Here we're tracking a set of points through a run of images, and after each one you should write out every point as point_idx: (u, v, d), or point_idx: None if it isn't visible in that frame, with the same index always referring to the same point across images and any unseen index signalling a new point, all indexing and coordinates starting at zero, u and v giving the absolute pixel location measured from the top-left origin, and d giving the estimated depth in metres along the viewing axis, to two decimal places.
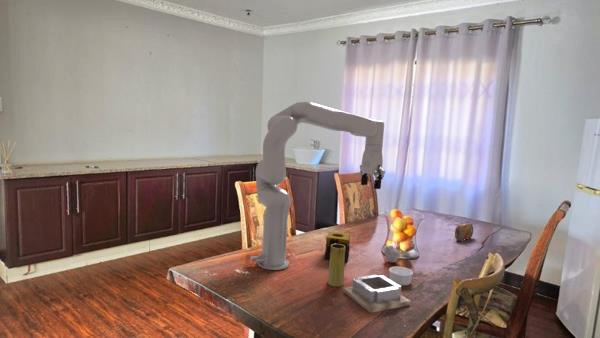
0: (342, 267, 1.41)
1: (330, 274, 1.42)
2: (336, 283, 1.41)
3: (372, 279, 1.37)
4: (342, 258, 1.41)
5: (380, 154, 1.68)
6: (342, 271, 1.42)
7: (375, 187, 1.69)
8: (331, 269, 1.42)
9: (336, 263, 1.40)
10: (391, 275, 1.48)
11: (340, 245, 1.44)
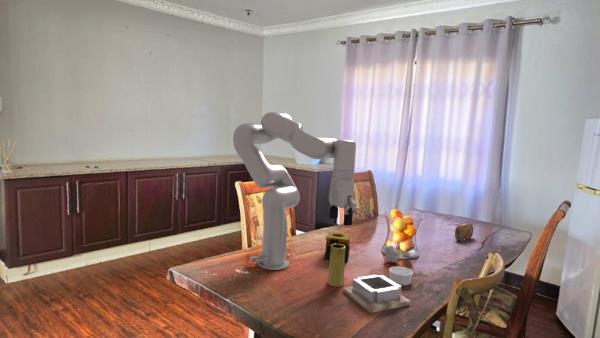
0: (342, 267, 1.41)
1: (330, 274, 1.42)
2: (336, 283, 1.41)
3: (372, 279, 1.37)
4: (342, 258, 1.41)
5: (351, 182, 1.35)
6: (342, 271, 1.42)
7: (345, 223, 1.36)
8: (331, 269, 1.42)
9: (336, 263, 1.40)
10: (391, 275, 1.48)
11: (340, 245, 1.44)
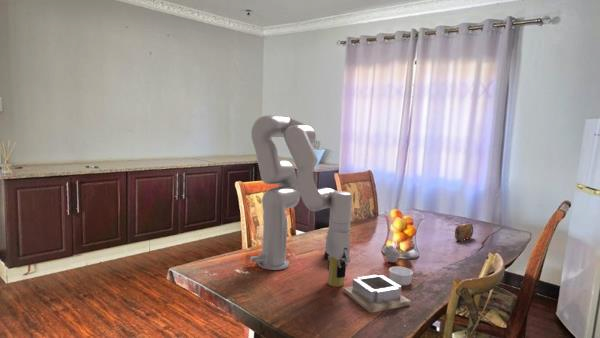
0: None
1: (330, 274, 1.42)
2: (336, 283, 1.41)
3: (372, 279, 1.37)
4: None
5: (347, 235, 1.38)
6: None
7: (338, 276, 1.40)
8: (331, 269, 1.42)
9: (336, 263, 1.40)
10: (391, 275, 1.48)
11: None
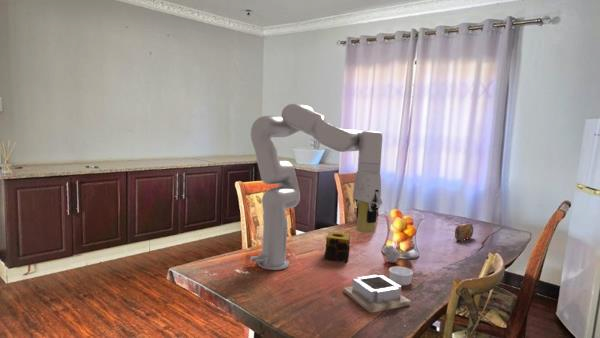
0: None
1: (359, 220, 1.33)
2: (366, 229, 1.32)
3: (372, 279, 1.37)
4: None
5: (378, 176, 1.29)
6: None
7: (369, 221, 1.31)
8: (361, 214, 1.32)
9: (366, 207, 1.31)
10: (391, 275, 1.48)
11: None
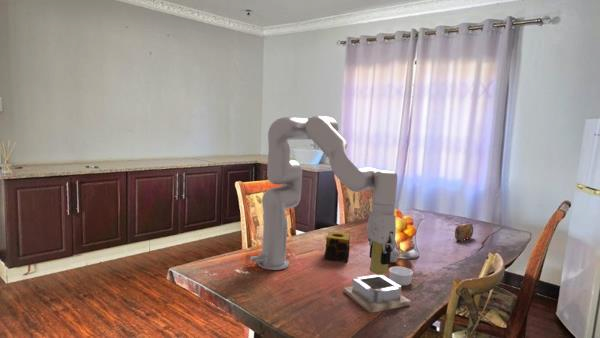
0: None
1: (373, 260, 1.30)
2: (380, 270, 1.29)
3: (372, 279, 1.37)
4: None
5: (392, 217, 1.26)
6: None
7: (383, 262, 1.28)
8: (374, 255, 1.30)
9: (380, 248, 1.29)
10: (391, 275, 1.48)
11: None
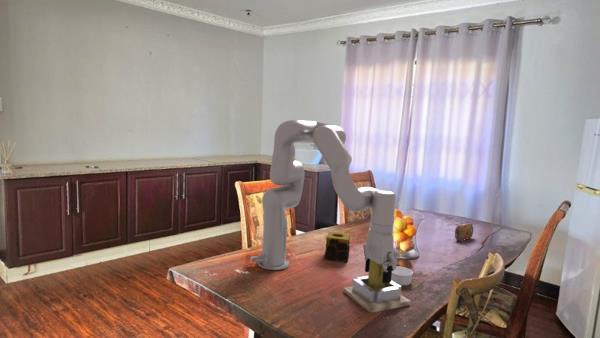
0: None
1: (370, 283, 1.32)
2: None
3: None
4: None
5: (390, 238, 1.27)
6: None
7: (384, 281, 1.27)
8: (371, 278, 1.31)
9: (377, 271, 1.30)
10: None
11: None
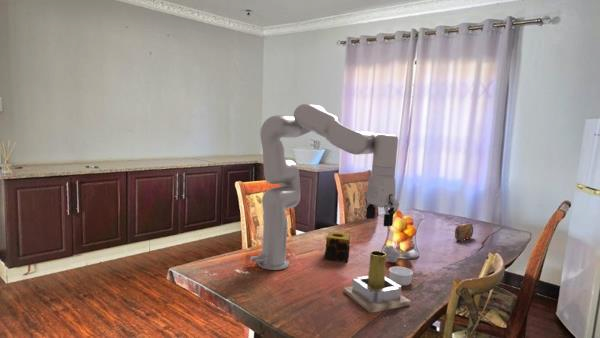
0: (383, 276, 1.31)
1: (370, 284, 1.32)
2: None
3: None
4: (383, 266, 1.30)
5: (392, 180, 1.26)
6: (383, 280, 1.31)
7: (385, 224, 1.26)
8: (371, 278, 1.31)
9: (377, 272, 1.30)
10: (391, 275, 1.48)
11: (380, 252, 1.34)
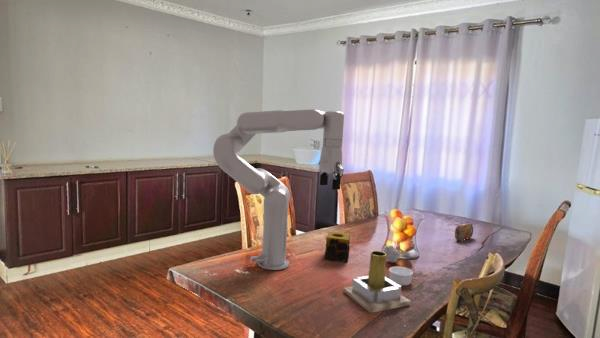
0: (383, 276, 1.31)
1: (370, 284, 1.32)
2: None
3: None
4: (383, 266, 1.30)
5: (339, 150, 1.48)
6: (383, 280, 1.31)
7: (333, 187, 1.48)
8: (371, 278, 1.31)
9: (377, 272, 1.30)
10: (391, 275, 1.48)
11: (380, 252, 1.34)
